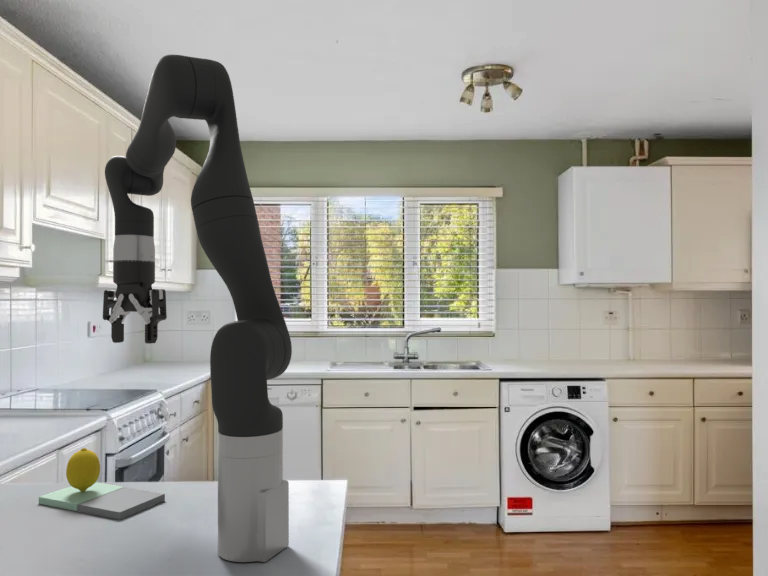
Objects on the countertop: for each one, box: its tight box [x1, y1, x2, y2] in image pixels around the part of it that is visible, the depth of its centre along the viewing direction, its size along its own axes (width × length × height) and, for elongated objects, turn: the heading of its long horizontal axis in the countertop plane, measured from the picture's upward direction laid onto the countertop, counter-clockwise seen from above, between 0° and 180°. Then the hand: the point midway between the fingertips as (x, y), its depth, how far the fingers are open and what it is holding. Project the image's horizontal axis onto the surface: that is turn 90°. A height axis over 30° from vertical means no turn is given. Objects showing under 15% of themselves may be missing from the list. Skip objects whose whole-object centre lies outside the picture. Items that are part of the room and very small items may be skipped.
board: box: [38, 481, 166, 520], centre depth 104 cm, size 20×10×1 cm, turn 66°
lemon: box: [65, 447, 101, 492], centre depth 106 cm, size 6×6×8 cm
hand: (134, 342), depth 112 cm, fingers open, 8 cm apart
